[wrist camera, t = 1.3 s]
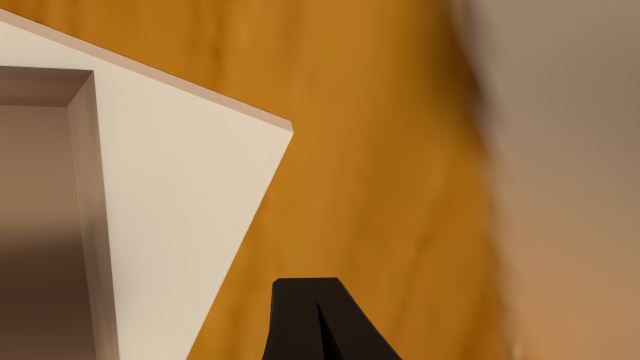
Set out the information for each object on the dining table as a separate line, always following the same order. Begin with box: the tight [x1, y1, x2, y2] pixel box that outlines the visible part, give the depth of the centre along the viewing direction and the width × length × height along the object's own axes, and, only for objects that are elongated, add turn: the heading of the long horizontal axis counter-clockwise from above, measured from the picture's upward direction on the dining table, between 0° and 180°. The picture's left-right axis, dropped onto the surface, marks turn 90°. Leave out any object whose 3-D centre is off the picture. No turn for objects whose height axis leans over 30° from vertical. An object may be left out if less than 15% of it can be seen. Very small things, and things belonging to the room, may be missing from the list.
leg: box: [0, 66, 120, 360], centre depth 16 cm, size 12×3×3 cm, turn 175°
